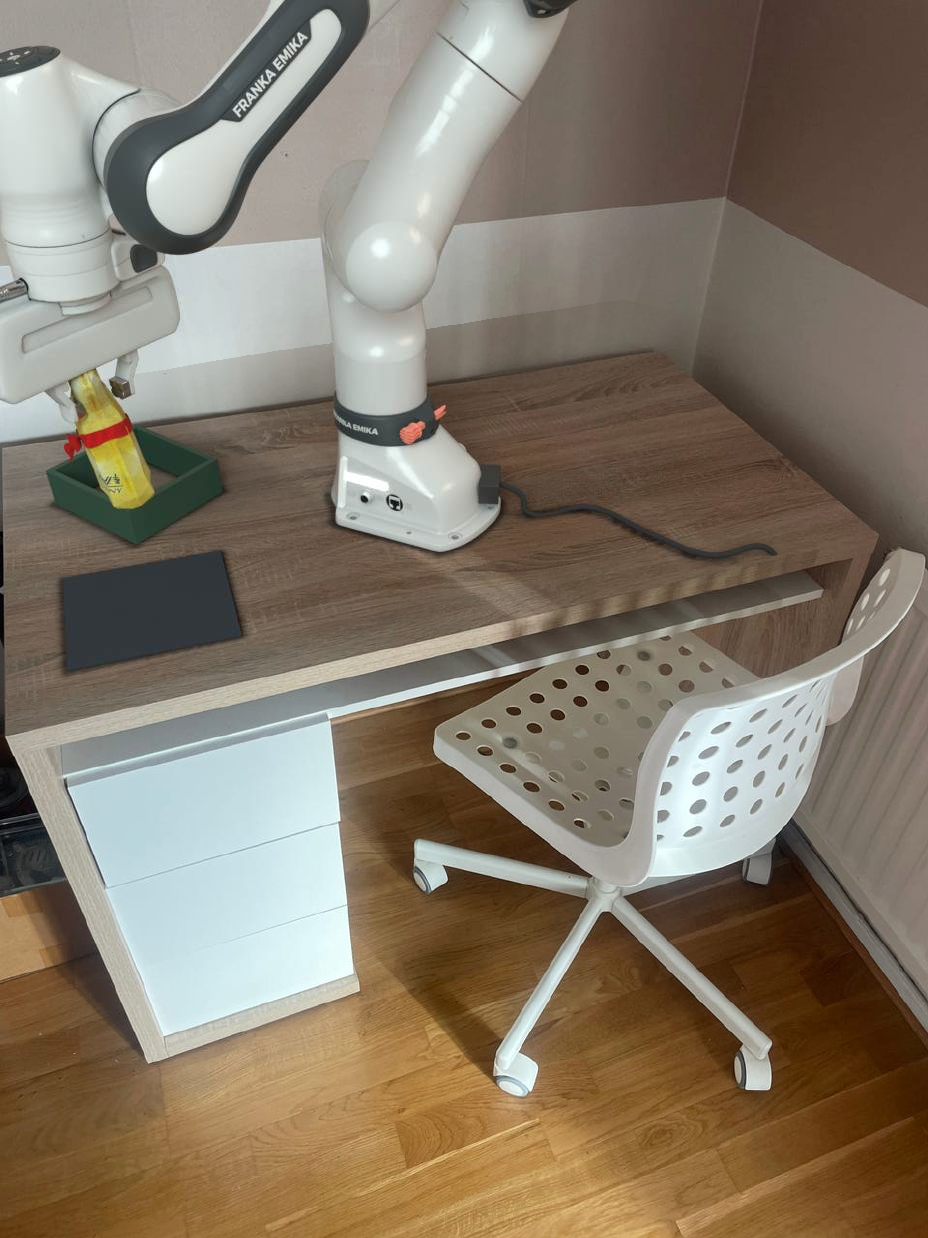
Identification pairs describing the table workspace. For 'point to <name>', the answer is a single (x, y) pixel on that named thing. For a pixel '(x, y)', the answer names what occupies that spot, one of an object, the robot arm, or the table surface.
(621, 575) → the table surface
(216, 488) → the crate
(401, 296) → the robot arm
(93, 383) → the chocolate bunny
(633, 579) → the table surface
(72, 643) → the mat
